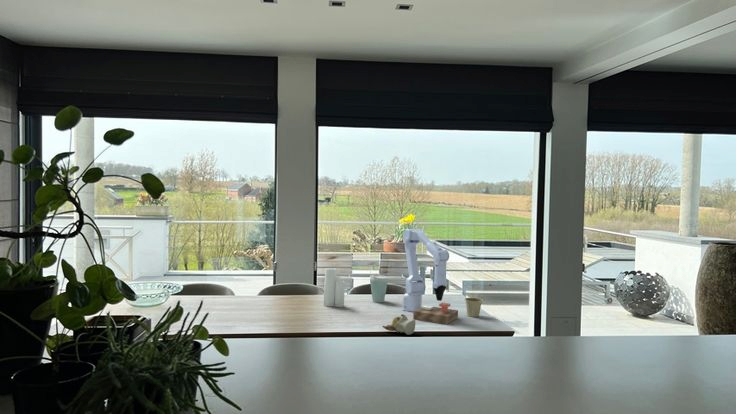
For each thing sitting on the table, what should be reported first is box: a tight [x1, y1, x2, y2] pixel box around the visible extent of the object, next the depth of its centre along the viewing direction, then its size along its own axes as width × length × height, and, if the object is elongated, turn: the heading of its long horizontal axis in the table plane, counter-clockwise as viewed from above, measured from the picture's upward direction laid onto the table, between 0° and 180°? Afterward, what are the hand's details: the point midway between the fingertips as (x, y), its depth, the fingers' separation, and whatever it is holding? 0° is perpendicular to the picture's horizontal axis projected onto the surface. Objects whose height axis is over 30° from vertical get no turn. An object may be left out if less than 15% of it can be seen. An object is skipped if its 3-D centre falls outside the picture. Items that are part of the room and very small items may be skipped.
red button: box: [438, 302, 451, 313], centre depth 279 cm, size 4×4×5 cm
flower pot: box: [464, 297, 484, 318], centre depth 291 cm, size 9×9×9 cm
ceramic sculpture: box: [382, 313, 416, 336], centre depth 252 cm, size 11×9×15 cm
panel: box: [412, 306, 459, 325], centre depth 281 cm, size 18×16×4 cm
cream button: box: [421, 305, 435, 310], centre depth 283 cm, size 4×4×5 cm
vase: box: [323, 267, 346, 308], centre depth 302 cm, size 11×7×20 cm, turn 86°
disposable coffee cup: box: [369, 274, 389, 304], centre depth 317 cm, size 11×11×15 cm
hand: (439, 300), depth 280 cm, fingers closed
